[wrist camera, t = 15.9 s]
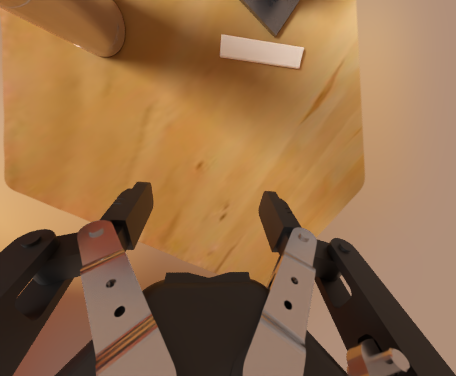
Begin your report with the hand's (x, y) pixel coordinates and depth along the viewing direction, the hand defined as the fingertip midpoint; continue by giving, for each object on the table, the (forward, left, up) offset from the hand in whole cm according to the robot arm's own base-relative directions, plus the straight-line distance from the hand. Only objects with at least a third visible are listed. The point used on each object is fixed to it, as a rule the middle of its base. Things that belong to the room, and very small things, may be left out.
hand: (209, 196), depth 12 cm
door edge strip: (-3, +18, -26) cm, 32 cm away
